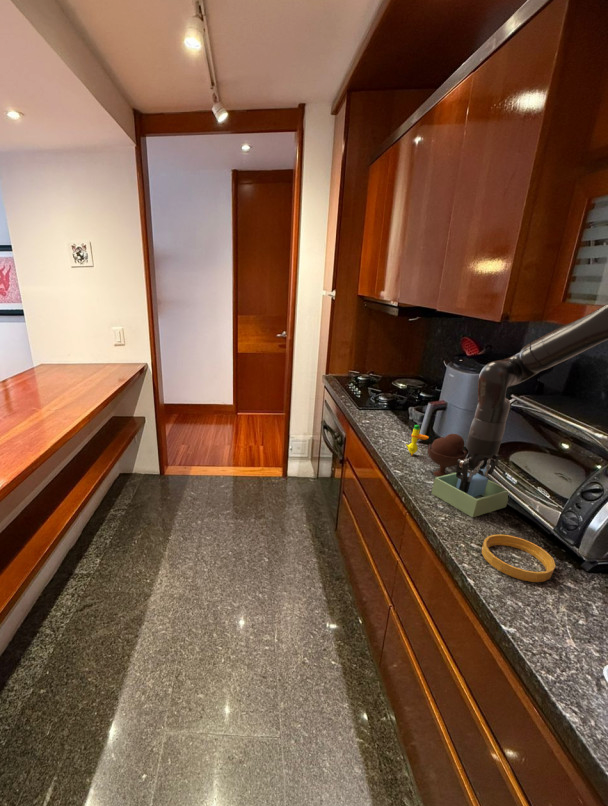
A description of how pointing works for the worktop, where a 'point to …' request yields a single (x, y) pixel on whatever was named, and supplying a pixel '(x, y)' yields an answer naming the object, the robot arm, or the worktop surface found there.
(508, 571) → the wide orange band ring
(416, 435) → the toy figure
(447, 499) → the sage bin
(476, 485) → the toy block
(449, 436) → the ice cream bowl
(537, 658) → the worktop surface
